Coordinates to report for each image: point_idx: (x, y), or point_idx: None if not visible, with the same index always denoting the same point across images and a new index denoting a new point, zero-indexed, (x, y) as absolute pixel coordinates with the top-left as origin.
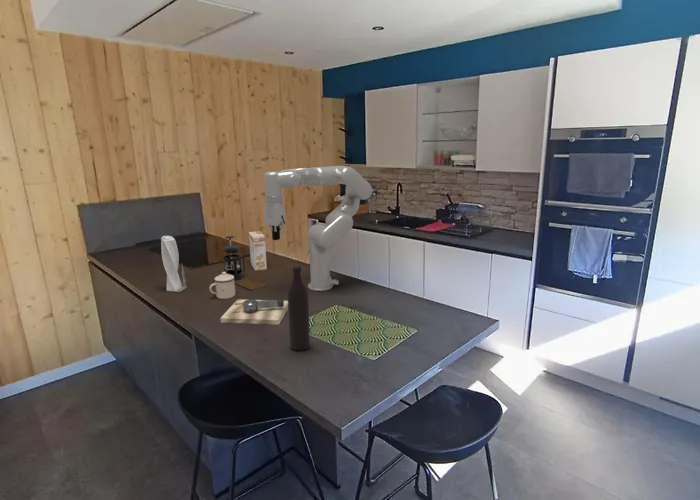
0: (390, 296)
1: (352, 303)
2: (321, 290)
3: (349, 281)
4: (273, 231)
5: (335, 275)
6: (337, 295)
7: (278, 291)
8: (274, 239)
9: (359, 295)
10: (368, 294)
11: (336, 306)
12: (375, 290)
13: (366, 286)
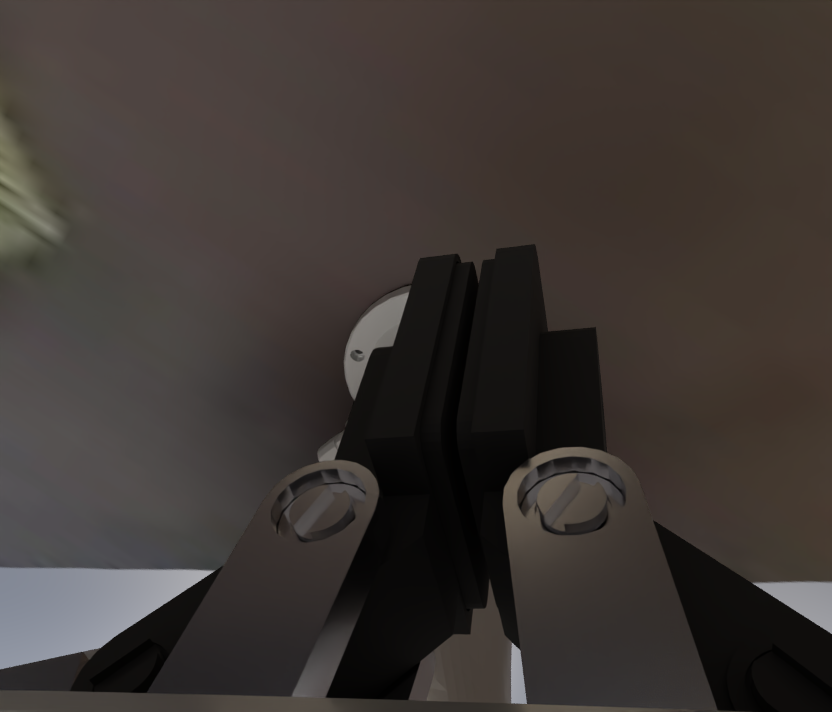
0: (59, 513)
1: (40, 321)
2: (357, 322)
3: None
4: (481, 467)
5: None
6: (218, 343)
7: (626, 33)
8: (428, 263)
9: (148, 428)
10: (139, 468)
11: (28, 215)
12: (179, 525)
13: None
